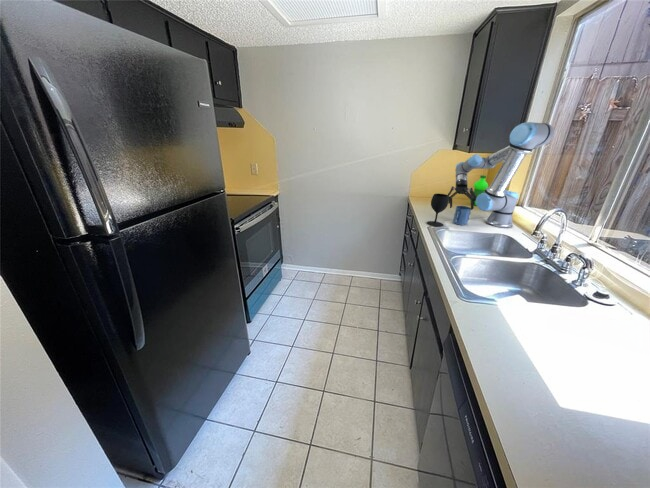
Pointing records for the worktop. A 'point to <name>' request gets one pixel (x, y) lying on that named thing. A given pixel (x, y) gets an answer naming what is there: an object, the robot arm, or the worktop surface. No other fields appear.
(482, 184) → the plastic bottle
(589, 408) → the worktop surface
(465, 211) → the mug
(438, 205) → the wine glass
